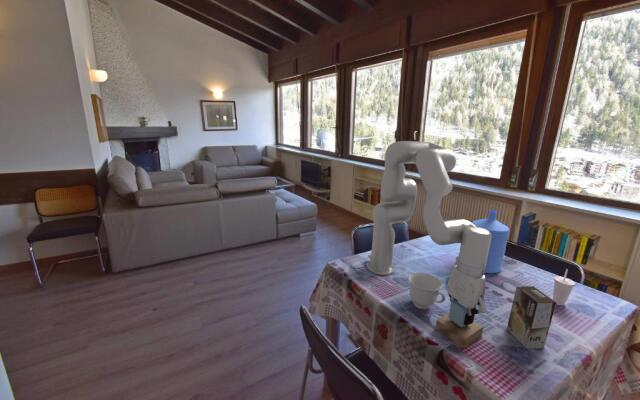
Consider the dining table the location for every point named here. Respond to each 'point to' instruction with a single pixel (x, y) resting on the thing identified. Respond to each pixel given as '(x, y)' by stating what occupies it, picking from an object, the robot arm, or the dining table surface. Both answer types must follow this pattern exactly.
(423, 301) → the teacup
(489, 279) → the dining table surface
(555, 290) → the smoothie
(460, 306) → the slate block
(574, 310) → the dining table surface
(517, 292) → the coffee box
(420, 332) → the dining table surface
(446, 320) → the tan flat block
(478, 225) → the water jug
